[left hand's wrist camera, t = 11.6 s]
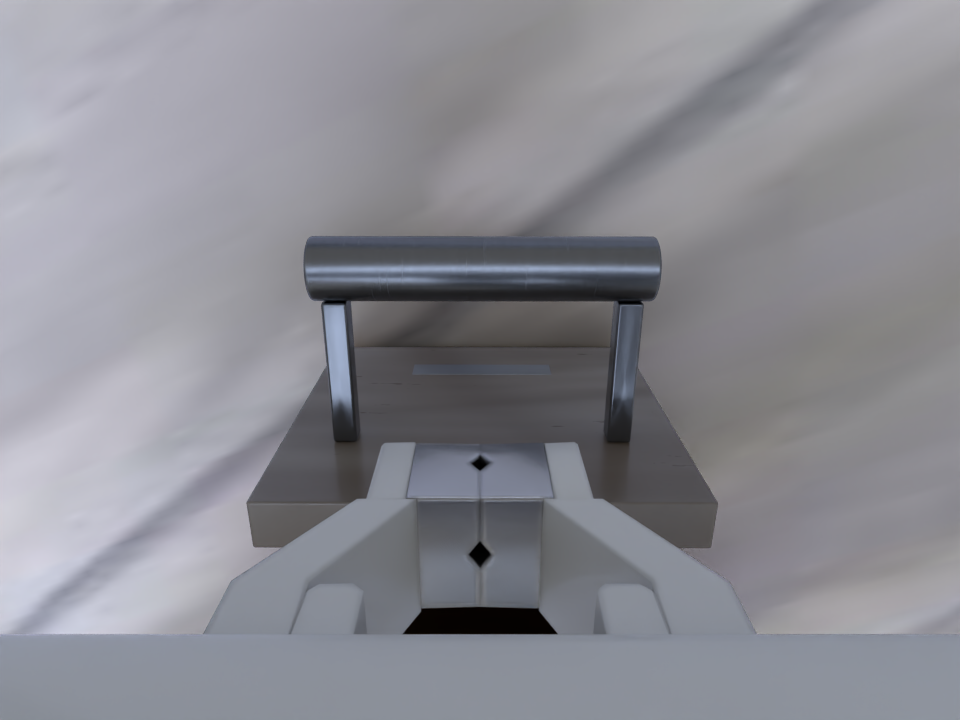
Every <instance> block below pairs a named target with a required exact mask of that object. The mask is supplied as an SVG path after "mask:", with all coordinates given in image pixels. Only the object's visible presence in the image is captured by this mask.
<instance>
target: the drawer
mask: <svg viewBox="0 0 960 720" xmlns="http://www.w3.org/2000/svg"><path fill="white" fill-rule="evenodd" d="M661 269H662V260H661V250H660V246H659V243H658V240H657V239H656V238H655V237H509V236H311V237H309V238H308V240H307V242H306V246H305V251H304V279H305V285H306V289H307V292H308V295H309V297H310V299H312V300H313V301H323V303H322V305H321V309H322V319H323V330H324V341H325V351H326V362H327V366H326V368H325V370H324V371H323V373H322V375H321V376H320V378H319V380H318V382H317V383H316V385H315V387H314V388H313V390H312V392H311V393H310V395H309V397H308V399H307V400H306V402H305V404H304V405H303V407H302V409H301V411H300V412H299V414H298V416H297V417H296V419H295V421H294V422H293V424H292V426H291V428H290V429H289V431H288V433H287V434H286V436H285V438H284V440H283V441H282V443H281V445H280V446H279V448H278V450H277V451H276V453H275V455H274V457H273V458H272V460H271V462H270V463H269V465H268V467H267V468H266V470H265V472H264V474H263V475H262V477H261V479H260V480H259V482H258V484H257V486H256V487H255V489H254V491H253V492H252V494H251V496H250V497H249V499H248V501H247V509H248V515H249V522H250V528H251V534H252V541H253V546H254V547H284V546H286V545H287V544H289V543H290V542H292V541H293V540H295V539H296V538H298V537H299V536H301V535H302V534H304V533H305V532H307V531H309V530H310V529H312V528H313V527H315V526H316V525H318V524H319V523H321V522H322V521H324V520H325V519H327V518H328V517H330V516H332V515H333V514H335V513H336V512H338V511H339V510H341V509H342V508H344V507H345V506H347V505H348V504H350V503H351V502H353V501H355V500H356V499H366V498H367V495H368V491H369V488H370V484H371V481H372V477H373V474H374V470H375V467H376V464H377V460H378V457H379V453H380V450H381V446H382V445H383V444H384V443H397V442H415V443H416V444H417V443H457V444H508V443H561V442H575V443H577V444H578V447H579V450H580V454H581V457H582V461H583V464H584V468H585V471H586V474H587V478H588V481H589V485H590V488H591V491H592V495H593V498H594V499H604V500H605V501H607V502H609V503H610V504H612V505H613V506H615V507H616V508H618V509H619V510H621V511H622V512H624V513H625V514H627V515H628V516H630V517H631V518H633V519H634V520H636V521H638V522H639V523H641V524H642V525H644V526H645V527H647V528H648V529H650V530H651V531H653V532H654V533H656V534H657V535H659V536H660V537H662V538H664V539H665V540H667V541H668V542H670V543H671V544H673V545H674V546H676V547H677V548H710V547H711V544H712V537H713V531H714V525H715V519H716V513H717V507H718V503H717V501H716V499H715V497H714V496H713V494H712V492H711V491H710V489H709V487H708V486H707V484H706V482H705V481H704V479H703V477H702V475H701V474H700V472H699V470H698V469H697V467H696V465H695V464H694V462H693V460H692V459H691V457H690V455H689V454H688V452H687V450H686V448H685V447H684V445H683V443H682V442H681V440H680V438H679V437H678V435H677V433H676V432H675V430H674V428H673V427H672V425H671V423H670V421H669V420H668V418H667V416H666V415H665V413H664V411H663V410H662V408H661V406H660V405H659V403H658V401H657V400H656V398H655V396H654V394H653V393H652V391H651V389H650V388H649V386H648V384H647V383H646V381H645V379H644V378H643V376H642V374H641V373H640V371H639V369H638V358H639V348H640V338H641V328H642V318H643V308H644V305H643V303H642V302H641V301H653V300H654V299H655V297H656V295H657V293H658V290H659V286H660V280H661ZM351 301H614V306H613V319H612V331H611V343H610V347H354V338H353V325H352V312H351ZM403 634H558V633H557V632H556V631H555V630H554V629H553V627H552V626H551V625H550V624H549V623H548V621H547V620H546V619H545V618H544V616H543V615H542V614H541V613H540V612H539V608H508V607H451V608H421V612H420V613H419V615H418V616H417V617H416V618H415V619H414V621H413V622H412V623H411V624H410V626H409V627H408V628H407V629H406V630H405V632H404V633H403Z"/></svg>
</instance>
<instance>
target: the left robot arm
mask: <svg viewBox="0 0 960 720" xmlns="http://www.w3.org/2000/svg"><path fill="white" fill-rule="evenodd" d="M451 607H508V608H539V612H540V613H541V614H542V615H543V616H544V618H545V619H546V620H547V621H548V623H549V624H550V625H551V626H552V627H553V629H554V630H555V631H556V632H557V633H558V634H403V633H404V632H405V630H406V629H407V628H408V627H409V626H410V624H411V623H412V622H413V621H414V619H415V618H416V617H417V616H418V615H419V613H420V612H421V608H451ZM0 720H960V634H757V633H756V632H755V630H754V628H753V626H752V624H751V622H750V620H749V618H748V616H747V614H746V612H745V610H744V608H743V607H742V605H741V603H740V601H739V599H738V597H737V595H736V593H735V591H734V589H733V587H732V585H731V583H730V582H729V581H728V580H726V579H725V578H723V577H722V576H720V575H718V574H717V573H715V572H714V571H712V570H711V569H709V568H708V567H706V566H705V565H703V564H702V563H700V562H699V561H697V560H696V559H694V558H693V557H691V556H689V555H688V554H686V553H685V552H683V551H682V550H680V549H679V548H677V547H676V546H674V545H673V544H671V543H670V542H668V541H667V540H665V539H664V538H662V537H660V536H659V535H657V534H656V533H654V532H653V531H651V530H650V529H648V528H647V527H645V526H644V525H642V524H641V523H639V522H638V521H636V520H634V519H633V518H631V517H630V516H628V515H627V514H625V513H624V512H622V511H621V510H619V509H618V508H616V507H615V506H613V505H612V504H610V503H609V502H607V501H605V500H604V499H594V498H593V495H592V491H591V488H590V485H589V481H588V478H587V474H586V471H585V468H584V464H583V461H582V457H581V454H580V450H579V447H578V444H577V443H575V442H561V443H508V444H457V443H417V444H416V443H415V442H397V443H384V444H383V445H382V446H381V450H380V453H379V457H378V460H377V464H376V467H375V470H374V474H373V477H372V481H371V484H370V488H369V491H368V495H367V498H366V499H356V500H355V501H353V502H351V503H350V504H348V505H347V506H345V507H344V508H342V509H341V510H339V511H338V512H336V513H335V514H333V515H332V516H330V517H328V518H327V519H325V520H324V521H322V522H321V523H319V524H318V525H316V526H315V527H313V528H312V529H310V530H309V531H307V532H305V533H304V534H302V535H301V536H299V537H298V538H296V539H295V540H293V541H292V542H290V543H289V544H287V545H286V546H284V547H282V548H281V549H279V550H278V551H276V552H275V553H273V554H272V555H270V556H269V557H267V558H266V559H264V560H262V561H261V562H259V563H258V564H256V565H255V566H253V567H252V568H250V569H249V570H247V571H246V572H244V573H243V574H241V575H239V576H238V577H236V578H235V579H233V580H232V581H231V582H230V584H229V586H228V588H227V590H226V592H225V594H224V596H223V597H222V599H221V601H220V603H219V605H218V607H217V609H216V611H215V613H214V615H213V616H212V618H211V620H210V622H209V624H208V626H207V628H206V630H205V632H204V634H0Z"/></svg>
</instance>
